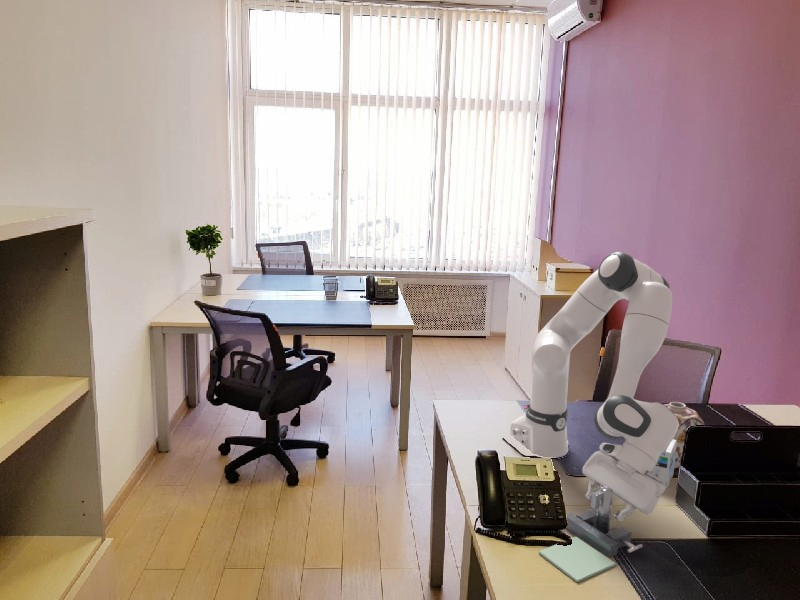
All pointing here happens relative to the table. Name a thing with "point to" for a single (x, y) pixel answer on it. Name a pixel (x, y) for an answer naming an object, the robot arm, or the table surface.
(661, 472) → the light bulb box
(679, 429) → the decorative jar
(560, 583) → the table surface
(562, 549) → the mat
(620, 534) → the vise
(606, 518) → the grey tall rounded piece
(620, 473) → the robot arm
